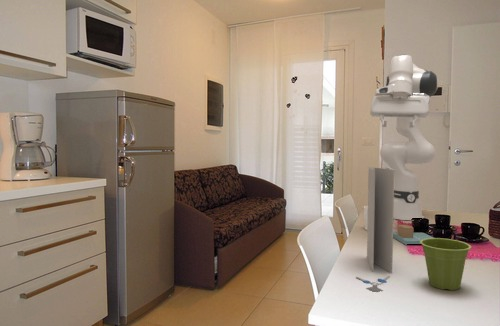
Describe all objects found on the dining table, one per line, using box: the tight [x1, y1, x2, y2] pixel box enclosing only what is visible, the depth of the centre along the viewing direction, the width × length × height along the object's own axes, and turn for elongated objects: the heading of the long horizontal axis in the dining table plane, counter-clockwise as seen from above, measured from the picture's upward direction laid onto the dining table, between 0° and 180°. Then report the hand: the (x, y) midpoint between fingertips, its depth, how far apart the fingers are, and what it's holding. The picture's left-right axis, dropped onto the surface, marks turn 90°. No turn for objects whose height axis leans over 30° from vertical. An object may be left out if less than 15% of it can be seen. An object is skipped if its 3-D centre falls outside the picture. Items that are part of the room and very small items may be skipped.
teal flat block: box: [413, 232, 434, 240], centre depth 143 cm, size 14×7×2 cm, turn 1°
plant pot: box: [420, 237, 472, 291], centre depth 96 cm, size 12×12×11 cm
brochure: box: [366, 166, 395, 274], centre depth 113 cm, size 14×6×30 cm, turn 168°
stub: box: [393, 224, 421, 246], centre depth 143 cm, size 14×6×6 cm, turn 1°
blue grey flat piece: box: [355, 275, 391, 293], centre depth 99 cm, size 14×8×1 cm, turn 151°
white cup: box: [363, 205, 368, 231], centre depth 161 cm, size 8×8×10 cm
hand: (397, 126), depth 136 cm, fingers open, 8 cm apart
